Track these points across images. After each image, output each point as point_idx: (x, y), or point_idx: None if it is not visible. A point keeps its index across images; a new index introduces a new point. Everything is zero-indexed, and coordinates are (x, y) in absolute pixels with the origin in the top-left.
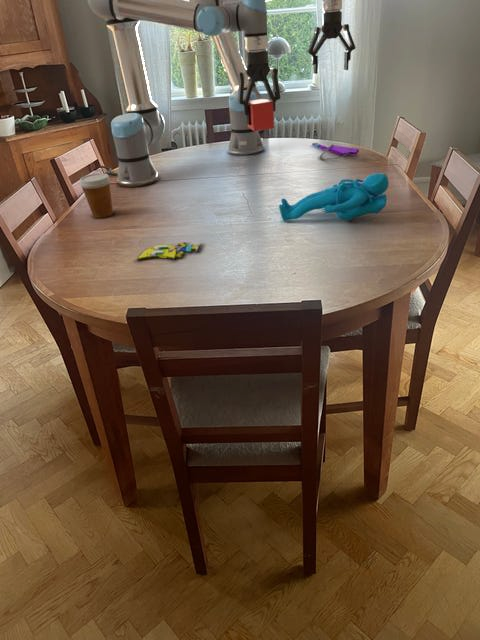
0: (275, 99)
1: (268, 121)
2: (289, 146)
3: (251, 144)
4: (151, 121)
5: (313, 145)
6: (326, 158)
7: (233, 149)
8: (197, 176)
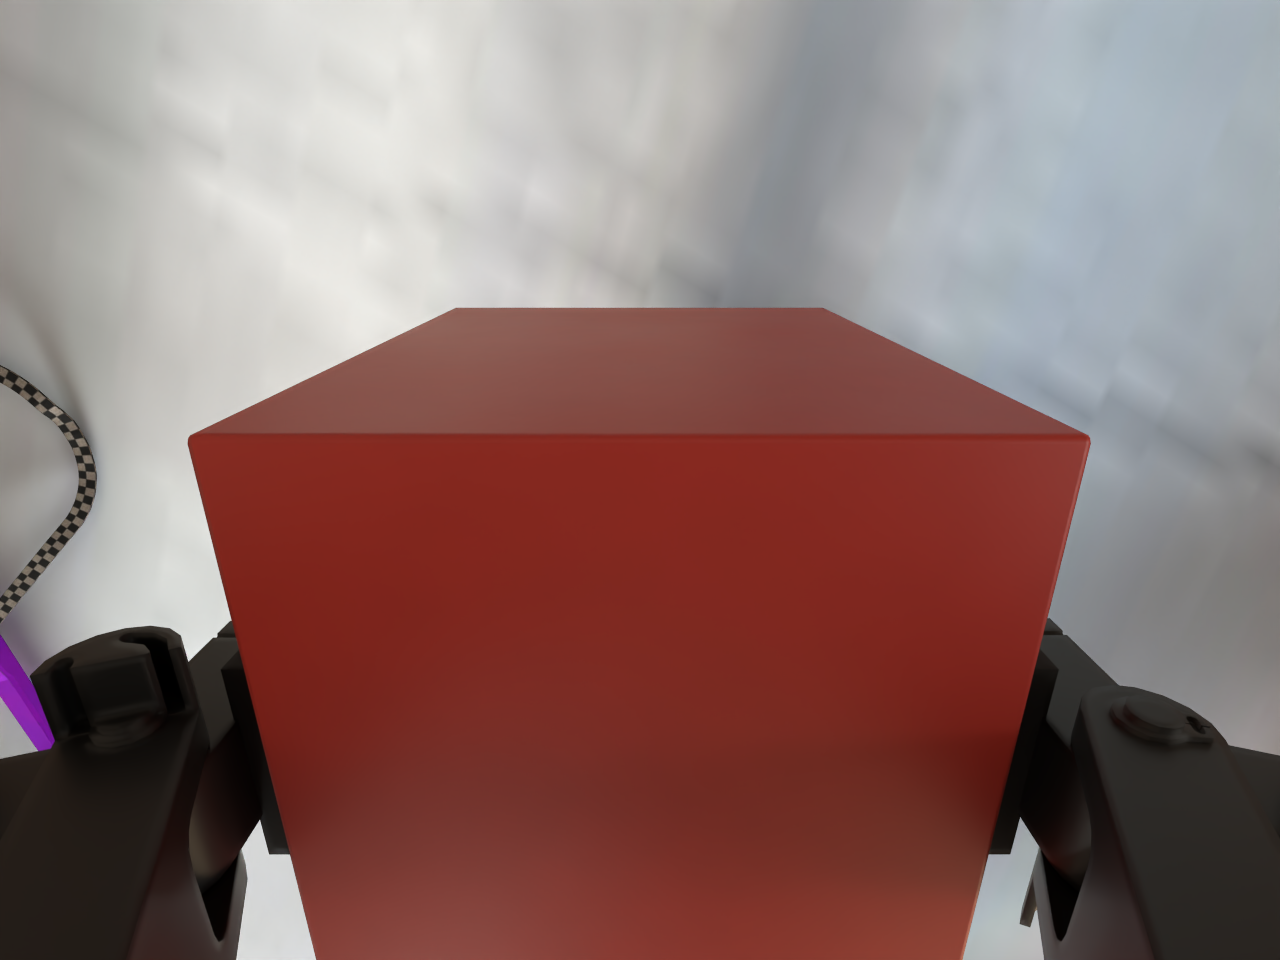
0: (57, 727)
1: (531, 325)
2: (286, 871)
3: None
4: None
5: None
6: (35, 401)
7: None
8: (1146, 494)
